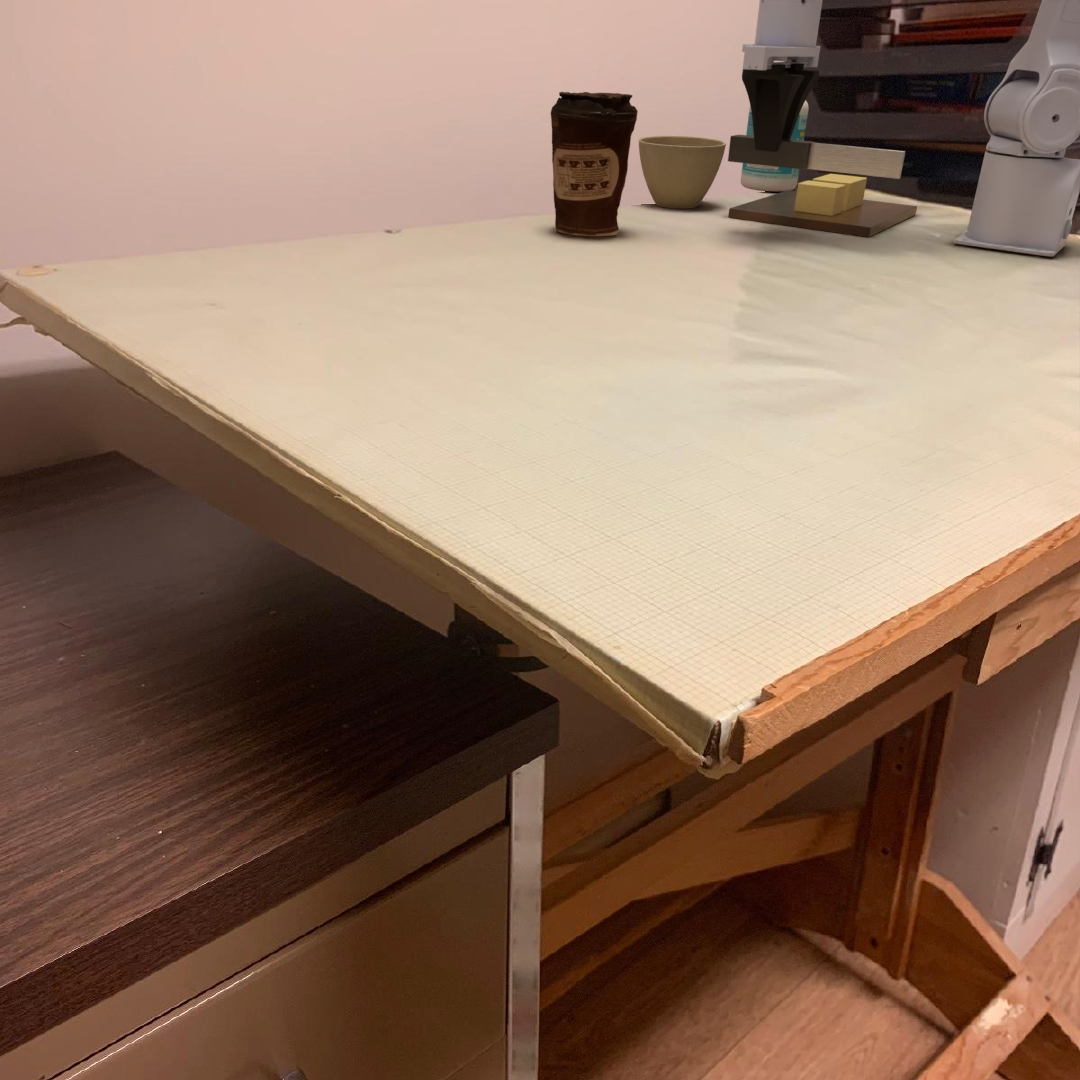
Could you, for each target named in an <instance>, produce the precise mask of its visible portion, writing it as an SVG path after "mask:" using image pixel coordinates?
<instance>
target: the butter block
mask: <svg viewBox="0 0 1080 1080" xmlns="http://www.w3.org/2000/svg"><path fill="white" fill-rule="evenodd" d="M812 181H817V182H826V183H834V184H843V185H846V186H845V192H844V198H843V204H842V210H841V211H847V210H849V209H852V208H855V207H857V206H860V205H862V203H863V200H864V197H865V192H866V186H867V181H868V177H865V176H857V175H848V174H847V175H845V174H839V173H828V174H824V175H822V176H818V177H815V178H812Z"/></svg>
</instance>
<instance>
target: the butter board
mask: <svg viewBox="0 0 1080 1080" xmlns="http://www.w3.org/2000/svg"><path fill="white" fill-rule="evenodd" d="M796 195H797V190H791V191H790V190H788V191H785V192H778V193H775V194H772V195H768V196H765V197H762V198H758V199H756V200H752V201H749V202H746V203H742V204H739V205H736V206H732V207H729V208H728V214H727V216H728V218H730V219H738V220H745V221H753V222H758V223H766V224H772V225H781V226H787V227H795V228H802V229H808V230H815V231H816V230H817V231H822V232H823V231H824V232H830V233H837V234H845V235H851V236H857V237H864V238H865V237H866V238H870V237H872V236H874V235H876V234H878V233H880V232H883V231H884V230H886V229H889V228H891V227H893V226H895V225H897V224H899V223H901V222H903V221H905V220H908V219H910V218H911V217H914V216H916V214H917V210H918V206H917V205H911V204H903V203H894V202H887V201H878V200H870V199H863V203H862V205H860V206H857V207H855V208H852V209H849V210H847V211H841V213H839V214H836V215H834V216H826V215H818V214H811V213H803V212H796V211H794V209H795V202H796Z"/></svg>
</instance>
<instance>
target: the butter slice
mask: <svg viewBox="0 0 1080 1080" xmlns="http://www.w3.org/2000/svg"><path fill="white" fill-rule="evenodd" d="M845 186H846V185H843V184H834V183H826V182H817V181H813V180H804V181H801V182H797V189H796V191H797V195H796V202H795V209H794V211H796V212H803V213H811V214H818V215H826V216H834V215H836V214H839V213H841V210H842V204H843V198H844V192H845Z"/></svg>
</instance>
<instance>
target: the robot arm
mask: <svg viewBox="0 0 1080 1080" xmlns="http://www.w3.org/2000/svg"><path fill="white" fill-rule="evenodd" d="M822 6H823V0H759V3H758V10H757V11H758V13H757V19H756V27H755V37H754V43H743V44H742V47H741V48H742V49H741V52H743V53H744V55H743V62H742V72H741V81H742V82H743V83H742V84H743V86H744V87H745V91H746V93H747V98H748V101H749V107H750V106H751V112H752V121H753V133H754V143H755V150H763V151H773V152H775V151H777V149H778V147H779V144H780V141H781V139H791V136H792V133H793V130H794V127H795V124H796V122H797V119H798V116H799V113H800V111H801V109H802V106H803V104H804V102H805V100H806V101H807V99H808V96H809V94H810V93H811V91H812V89H813V88H814V87H815V85H816V84H817V82H818V81H819V78H820V71H819V70H814V69H812V70H811V69H804V68H818V66H819V59H820V51H821V45H817V40H818V33H819V27H820V20H821V14H822V8H823V7H822ZM788 60H790V61H788ZM983 121H984V126H985V129H986V131H987V133H988V134H989V135H990V138H989V141H987V143H986V147H985V149H986V150H985V151H984V156H983V160H982V165H981V168H980V173H979V177H978V182H977V186H976V191H975V195H974V199H973V204H972V208H971V212H970V216H969V221H968V225H967V230H966V231H965V232H964V233H962V234H961V235H959V236H957V237H956V238H954V240H953V244H956V245H963V246H969V247H975V248H984V249H991V250H992V249H993V250H998V251H1005V252H1014V253H1020V254H1028V255H1034V256H1043V257H1055V256H1056V255H1057V254H1058V253H1059V252H1060V251H1061V250H1062V249H1063V248H1064V247H1065V246H1066V245H1067V239H1068V238H1069V236H1070V233H1071V229H1072V226H1073V216H1074V213H1075V210H1076V206H1077V202H1078V200H1079V195H1080V159H1079V158H1069V157H1065V155H1066V151H1067V147H1069V146H1070V145H1071V144H1073V143H1074V142H1075V141H1076V140H1077V139H1078V138H1079V136H1080V0H1041V3H1040V5H1039V8H1038V11H1037V14H1036V17H1035V20H1034V23H1033V25H1032V29H1031V31H1030V34H1029V36H1028V39H1027V41H1026V42H1025V44H1024V45H1023V46H1022V47H1021V48H1020V50H1019V51H1018V52H1017V53H1015V55H1014V57H1013V58H1012V59H1011V61H1010V62H1009V63H1008V68H1007V71H1006V73H1005V75H1004V77H1003V79H1002V81H1001V82H999V84H998V86H996V88H995V89H994V90H993V91H992V93H991V94H990V96H989V97H988V99H987V101H986V103H985V107H984V112H983Z"/></svg>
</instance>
